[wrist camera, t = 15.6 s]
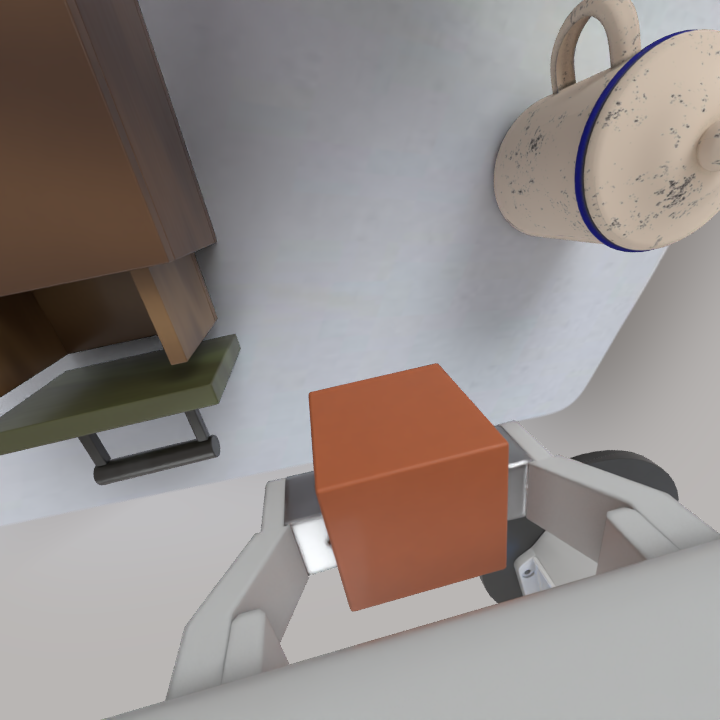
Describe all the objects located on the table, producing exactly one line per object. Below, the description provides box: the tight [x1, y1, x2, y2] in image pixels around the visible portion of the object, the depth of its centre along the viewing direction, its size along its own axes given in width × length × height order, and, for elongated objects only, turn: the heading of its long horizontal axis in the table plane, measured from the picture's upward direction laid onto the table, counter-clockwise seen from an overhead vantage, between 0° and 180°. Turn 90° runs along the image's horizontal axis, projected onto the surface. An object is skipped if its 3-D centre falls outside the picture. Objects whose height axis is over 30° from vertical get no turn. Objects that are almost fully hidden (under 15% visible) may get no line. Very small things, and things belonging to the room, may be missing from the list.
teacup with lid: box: [494, 0, 720, 252], centre depth 19 cm, size 12×9×12 cm
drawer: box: [0, 252, 241, 485], centre depth 19 cm, size 18×11×8 cm, turn 10°
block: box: [309, 363, 509, 611], centre depth 10 cm, size 4×4×4 cm
